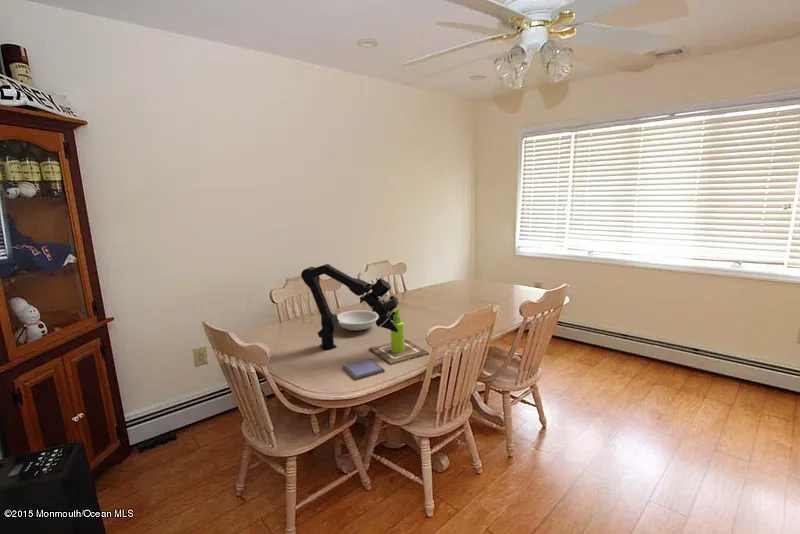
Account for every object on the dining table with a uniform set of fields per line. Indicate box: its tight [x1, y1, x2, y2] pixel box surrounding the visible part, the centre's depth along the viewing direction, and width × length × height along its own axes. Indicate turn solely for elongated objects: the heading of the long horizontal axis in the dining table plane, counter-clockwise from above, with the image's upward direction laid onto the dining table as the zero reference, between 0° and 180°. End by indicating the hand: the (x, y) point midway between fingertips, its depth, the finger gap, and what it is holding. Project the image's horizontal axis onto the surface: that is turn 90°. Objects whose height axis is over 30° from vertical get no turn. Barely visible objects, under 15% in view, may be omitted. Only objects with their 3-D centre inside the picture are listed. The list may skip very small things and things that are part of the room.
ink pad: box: [341, 358, 386, 381], centre depth 163 cm, size 13×13×1 cm
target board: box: [368, 338, 430, 365], centre depth 181 cm, size 20×20×1 cm
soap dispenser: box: [390, 307, 405, 353], centre depth 179 cm, size 6×7×20 cm
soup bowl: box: [336, 309, 379, 331], centre depth 213 cm, size 24×24×7 cm
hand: (399, 328), depth 179 cm, fingers open, 9 cm apart
